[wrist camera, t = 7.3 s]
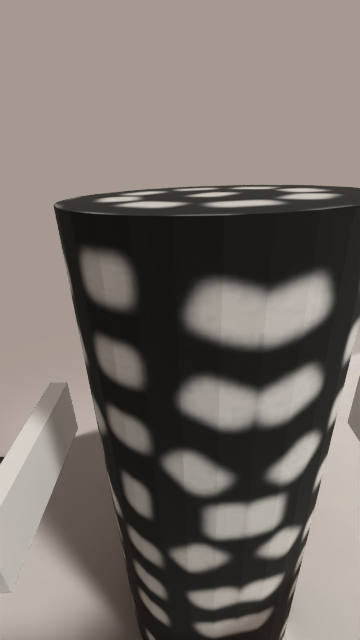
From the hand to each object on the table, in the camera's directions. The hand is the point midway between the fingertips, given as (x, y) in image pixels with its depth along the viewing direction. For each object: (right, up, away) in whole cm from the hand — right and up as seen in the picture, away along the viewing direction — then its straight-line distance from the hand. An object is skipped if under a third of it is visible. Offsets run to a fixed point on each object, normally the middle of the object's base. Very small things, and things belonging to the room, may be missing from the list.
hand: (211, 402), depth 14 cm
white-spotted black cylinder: (0, -11, +3) cm, 11 cm away
